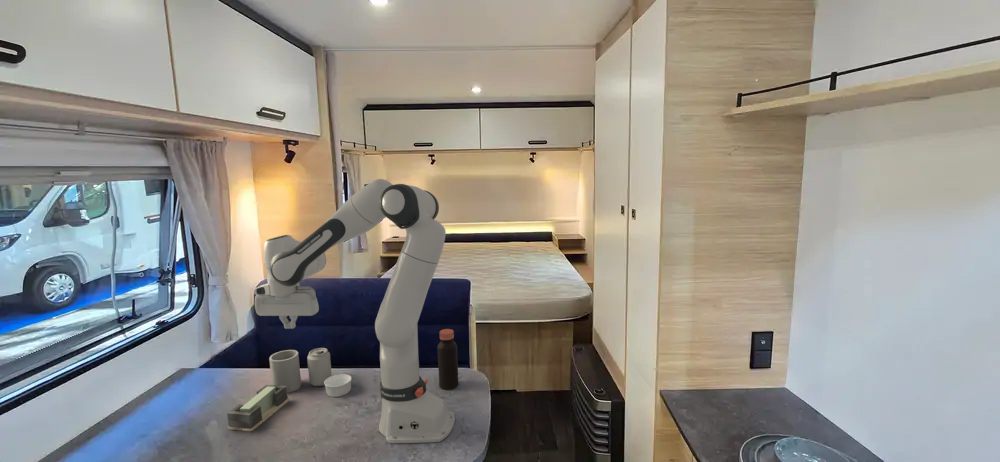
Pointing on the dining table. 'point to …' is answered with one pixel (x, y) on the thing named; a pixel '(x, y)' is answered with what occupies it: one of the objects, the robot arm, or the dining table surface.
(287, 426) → the dining table surface
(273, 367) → the cup
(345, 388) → the ramekin
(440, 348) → the bottle
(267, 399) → the slat
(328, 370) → the can
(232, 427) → the grey and cream cradle
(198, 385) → the dining table surface
